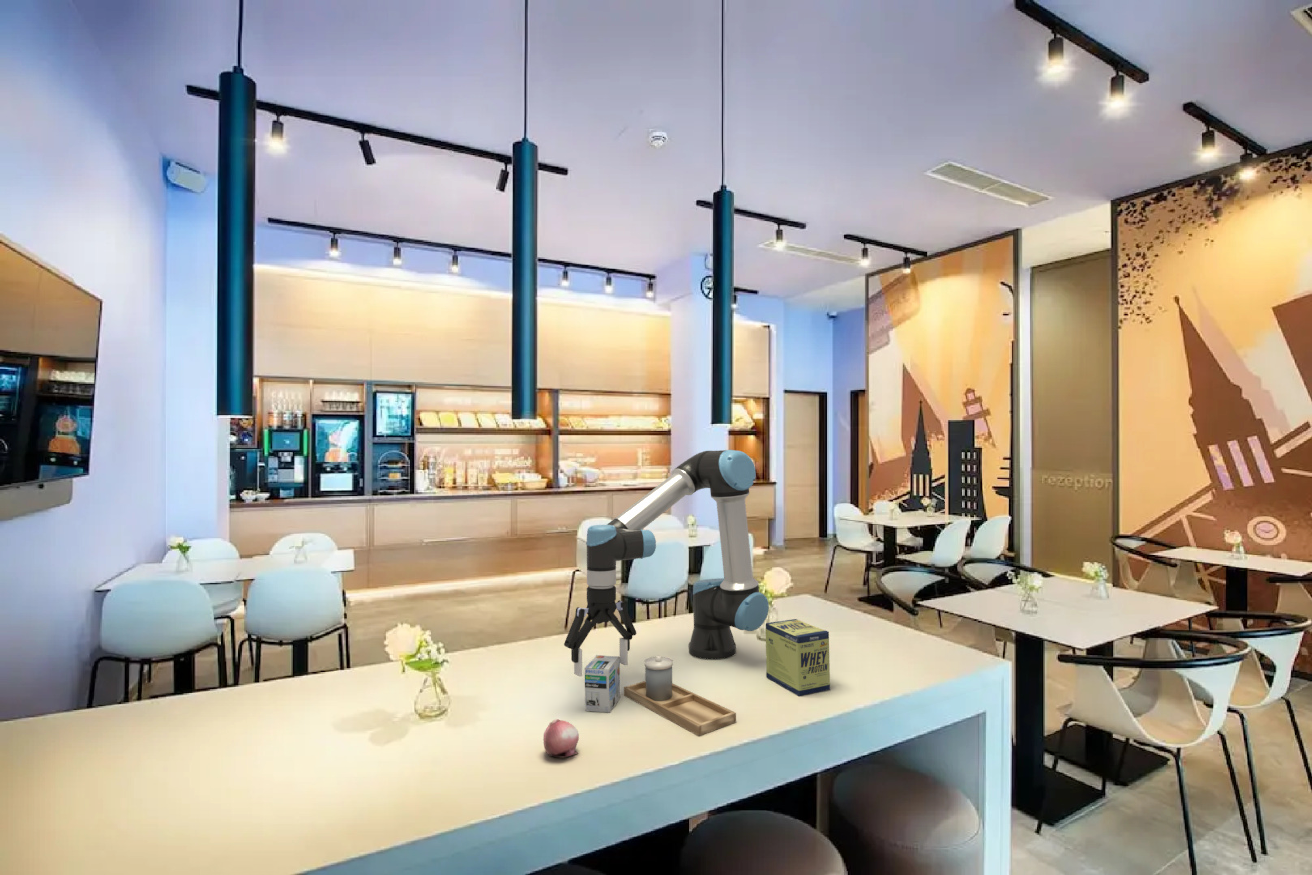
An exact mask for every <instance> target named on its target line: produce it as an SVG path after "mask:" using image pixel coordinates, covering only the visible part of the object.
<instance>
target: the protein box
mask: <svg viewBox="0 0 1312 875" xmlns="http://www.w3.org/2000/svg"><path fill="white" fill-rule="evenodd" d="M829 633H830V632H829V631H828V630H825V629H822V628H820V627H817V626H815V625H812V624H810V623H807V622H804V621H802V620H800V619H797V618H796V619H795V618H793V619H786V620H779V621H773V622H766V623H765V657H766V658H765V660H766V661H765V662H766V664H765V665H766V666H765V667H766V675H765V676H766V678H767V679H768V680H770V681H772V682H774V683H775V684H777V685H779V686H780V687H782V688H783V689H785V690H787V691H789V692H791V693H792V694H794V695H796V696H797V697H801V696H806V695H810V694H816V693H821V692H826V691H831V675H830V670H831V669H830V634H829Z"/></svg>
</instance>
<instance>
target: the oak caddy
mask: <svg viewBox="0 0 1312 875" xmlns="http://www.w3.org/2000/svg"><path fill="white" fill-rule="evenodd" d="M672 691H673V696H672V698H671V699H669V700H666V701H654V700H652V699H650V698H648V697H646V685H645V680H643V681H640V682H637V683H633V684H630V685H626V686H624V687H623V696H624V697H626V698H627V699H630V700H632V701H634V702H635V703H637V704H638V705H641V706H643V707H644V708H646V709H649V710H650V711H652V712H654V713H656V714H658V715H659V716H661V717H662V718H664V719H666V720H668V721H670V722H672V723H674V724H676V725H677V726H680V727H681V728H683V729H685V730H687V731H688V732H690V733H692V734H694V735H696V736H697V737H701V736H702V735H703V736H704V735H706V734H708V733H711V732H714V731H716V730H719V729H722V728H724V727H727V726H730V725H733V724H735V723H737V712H735V711H732V710H731V709H728V708H727V707H725V706H722V705H720V704H718V703H716V702H715V701H711V700H709V699H707V698H705V697H704V696H703V697H702V696H701V695H698V694H696V693H694V692H692V691H690V690H688V689H686V688H684V687H681V686H679V685H677V684H675V683H673V682H672Z"/></svg>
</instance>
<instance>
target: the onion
mask: <svg viewBox="0 0 1312 875" xmlns="http://www.w3.org/2000/svg"><path fill="white" fill-rule="evenodd" d="M579 737H580V734H579V731H578V729H577V728H576V726H575V725H573V724H572V723H570V722H569V721H566V720H560V719H557V718H556V719H553V720H552V721H550V722H549V724H547V727H546V728H545V730H544V732H543V739H542V740H543V748H544V750H545V752H546V753H547V755H548V756H551V757H552V758H553V757H554V758H567V757H571V756H576V755H578V754H579V753H578V751H577V750H576V748H577V746H578V743H579V739H580V738H579Z"/></svg>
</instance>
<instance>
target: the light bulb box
mask: <svg viewBox="0 0 1312 875" xmlns="http://www.w3.org/2000/svg"><path fill="white" fill-rule="evenodd" d="M583 671H584V711H586V712H599V713H607V714H608V713H611V711H612V710H613V709H614V707H615V706H616V704H617V703H618V701H619V700H620V698H621V663H620V655H618V656H617V655H616V656H615V655H601V654H596V655H595V656H594V657H593V659H591V660H590V662H588V664H587V665H586V666H585V667H584V670H583Z"/></svg>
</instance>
